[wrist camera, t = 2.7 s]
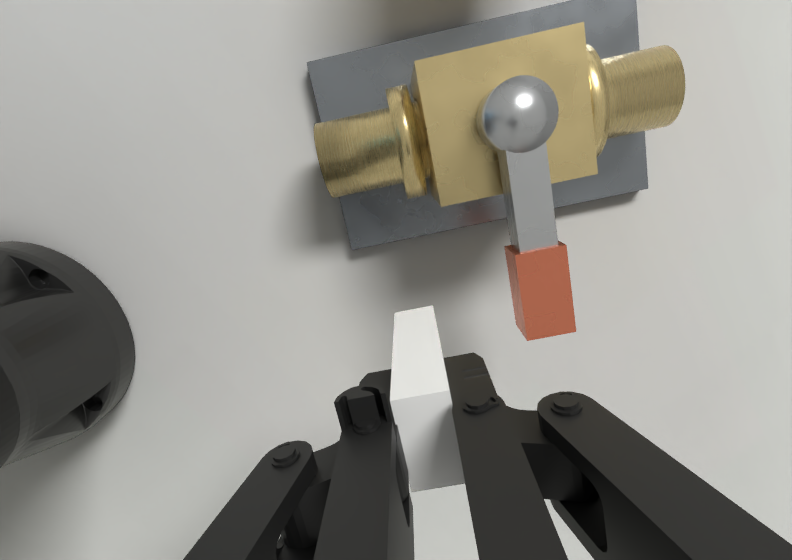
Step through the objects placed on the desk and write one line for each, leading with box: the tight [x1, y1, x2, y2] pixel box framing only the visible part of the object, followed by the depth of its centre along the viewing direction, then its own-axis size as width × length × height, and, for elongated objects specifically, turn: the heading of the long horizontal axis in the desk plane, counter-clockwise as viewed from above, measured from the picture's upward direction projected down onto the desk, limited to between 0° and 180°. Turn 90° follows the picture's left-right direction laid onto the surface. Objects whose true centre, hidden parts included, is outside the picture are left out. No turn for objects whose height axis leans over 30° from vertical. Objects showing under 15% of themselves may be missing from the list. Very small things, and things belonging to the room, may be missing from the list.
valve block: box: [307, 0, 685, 250], centre depth 26 cm, size 20×12×8 cm, turn 102°
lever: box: [476, 75, 576, 341], centre depth 22 cm, size 12×3×3 cm, turn 12°
